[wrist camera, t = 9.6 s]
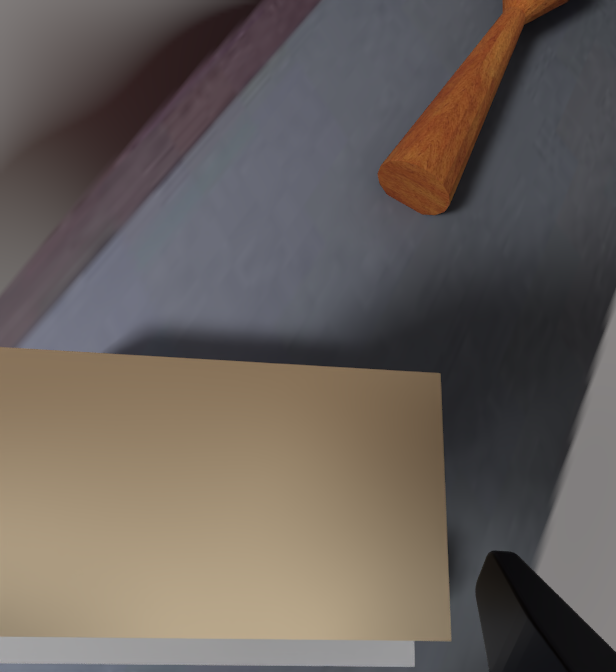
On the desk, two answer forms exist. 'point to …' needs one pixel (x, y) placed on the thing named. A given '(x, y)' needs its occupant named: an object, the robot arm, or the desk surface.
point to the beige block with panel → (220, 500)
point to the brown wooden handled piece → (456, 117)
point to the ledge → (206, 651)
